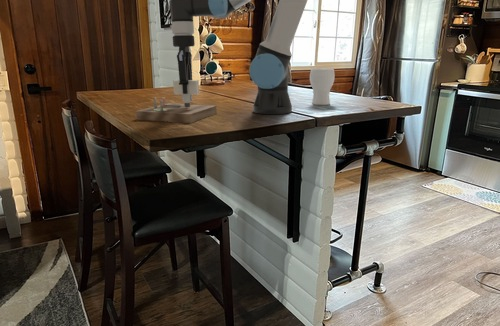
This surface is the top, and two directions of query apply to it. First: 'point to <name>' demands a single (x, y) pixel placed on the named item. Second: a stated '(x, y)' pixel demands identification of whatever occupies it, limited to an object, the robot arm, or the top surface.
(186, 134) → the top surface
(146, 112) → the board
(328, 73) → the cup
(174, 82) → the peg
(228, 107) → the top surface
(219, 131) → the top surface
